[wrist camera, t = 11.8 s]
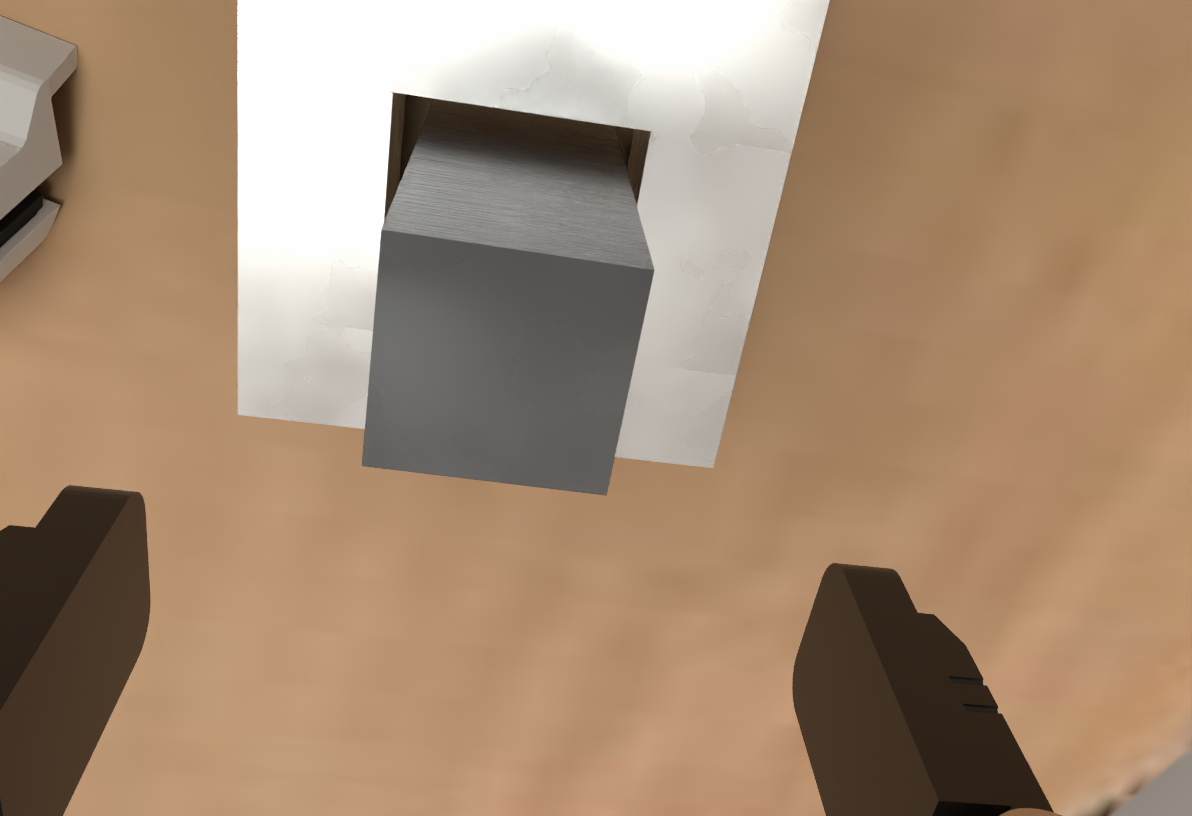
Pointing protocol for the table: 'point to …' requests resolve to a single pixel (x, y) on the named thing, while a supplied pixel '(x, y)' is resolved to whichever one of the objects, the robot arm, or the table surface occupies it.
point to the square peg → (507, 302)
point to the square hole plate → (527, 84)
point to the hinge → (28, 135)
